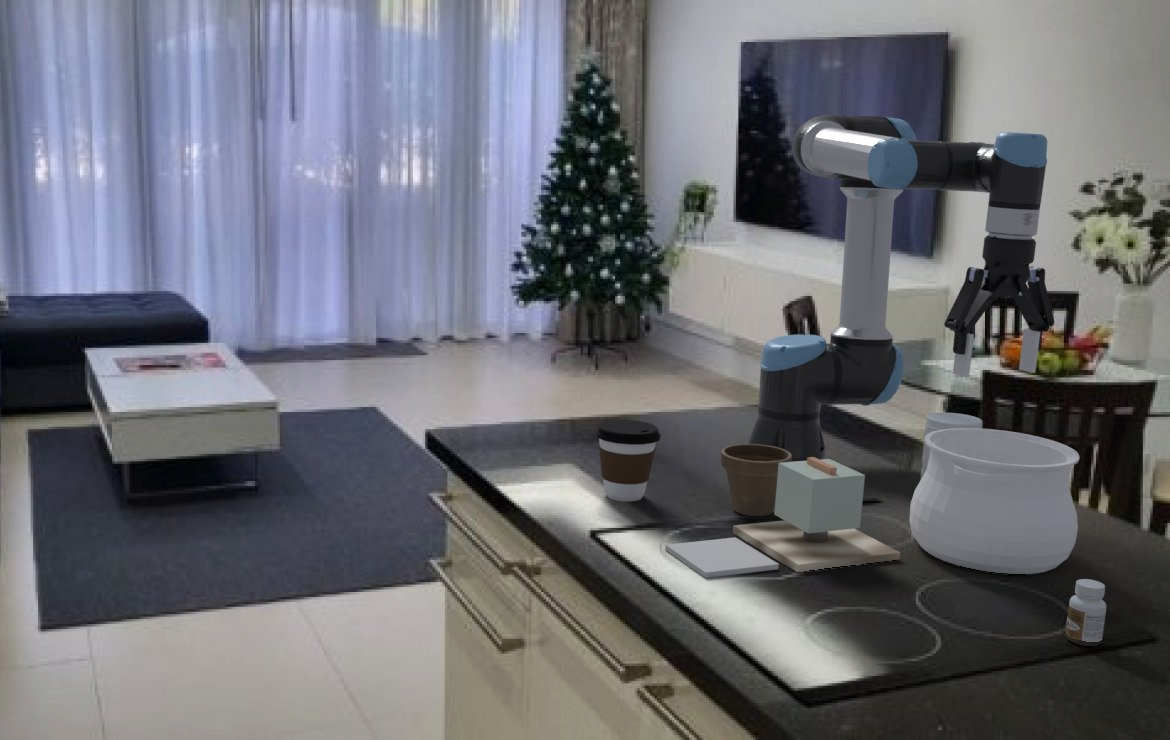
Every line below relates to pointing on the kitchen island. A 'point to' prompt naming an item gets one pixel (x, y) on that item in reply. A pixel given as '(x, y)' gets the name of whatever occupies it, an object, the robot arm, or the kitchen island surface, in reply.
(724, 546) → the pad
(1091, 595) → the pill bottle
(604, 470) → the coffee cup
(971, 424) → the supplement tub
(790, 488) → the cube with orange handle
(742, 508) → the flower pot
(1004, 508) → the pot
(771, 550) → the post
